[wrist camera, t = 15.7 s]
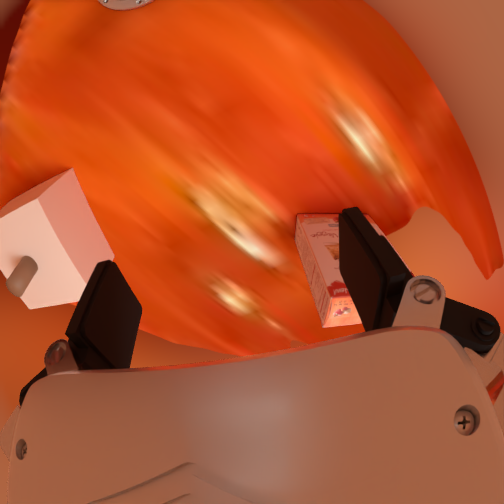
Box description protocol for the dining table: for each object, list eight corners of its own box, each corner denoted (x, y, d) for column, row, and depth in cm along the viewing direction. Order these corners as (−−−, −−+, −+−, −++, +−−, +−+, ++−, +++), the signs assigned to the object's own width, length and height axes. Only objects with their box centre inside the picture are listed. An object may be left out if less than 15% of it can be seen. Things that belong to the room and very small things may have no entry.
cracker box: (368, 211, 49) (425, 288, 32) (361, 238, 52) (409, 318, 36) (296, 210, 48) (332, 298, 31) (292, 239, 51) (322, 331, 35)
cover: (9, 200, 40) (-40, 252, 26) (72, 167, 39) (14, 220, 25) (50, 272, 51) (18, 331, 37) (114, 255, 50) (85, 325, 36)
